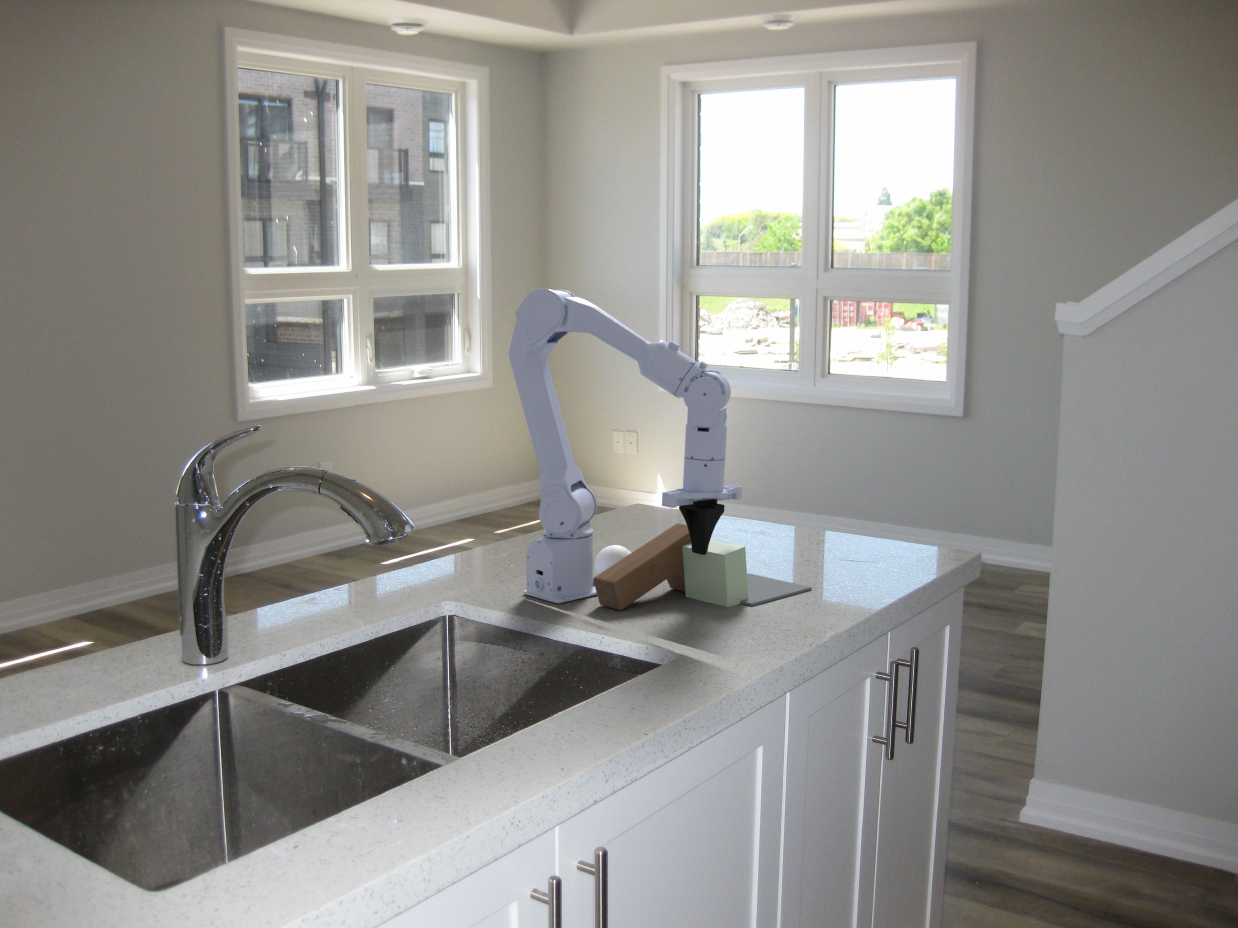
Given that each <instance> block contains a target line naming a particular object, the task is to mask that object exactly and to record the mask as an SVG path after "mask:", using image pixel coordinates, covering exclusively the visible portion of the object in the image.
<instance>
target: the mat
mask: <svg viewBox="0 0 1238 928" xmlns="http://www.w3.org/2000/svg"><path fill="white" fill-rule="evenodd" d="M747 583H748V599H746V600H742V601H741V605H744V606H748V607H754V606H757V605H761V604H765V603H768V602H773V601H776V600H779V599H783V598H788V597H790V596H795V595H799V594H802V593H805V592H809V591H812V589H813V587H812V586H809V585H803V584H798V583H795V582H790V581H785V580H781V579H776V578H771V577H768V576H762V575H759V574H753V573H747Z"/></svg>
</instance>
